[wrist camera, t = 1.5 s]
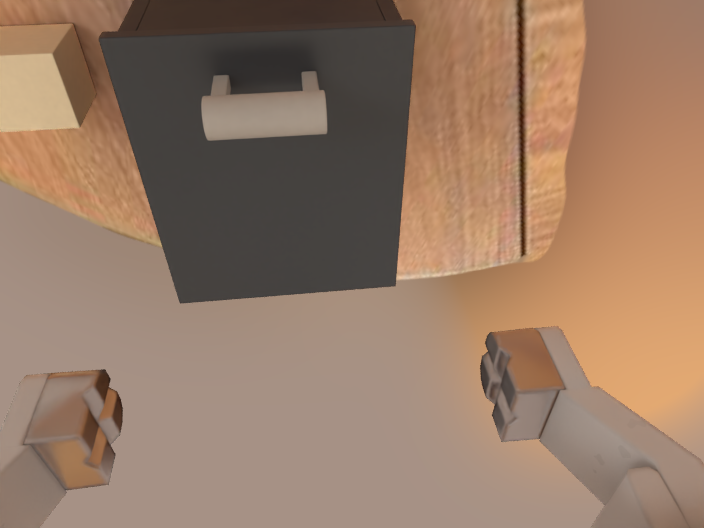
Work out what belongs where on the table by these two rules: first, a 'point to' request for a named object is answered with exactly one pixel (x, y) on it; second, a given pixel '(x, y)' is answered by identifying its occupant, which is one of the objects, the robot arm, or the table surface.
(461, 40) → the table surface
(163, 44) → the lid
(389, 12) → the dark grey box
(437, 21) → the table surface
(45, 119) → the block
